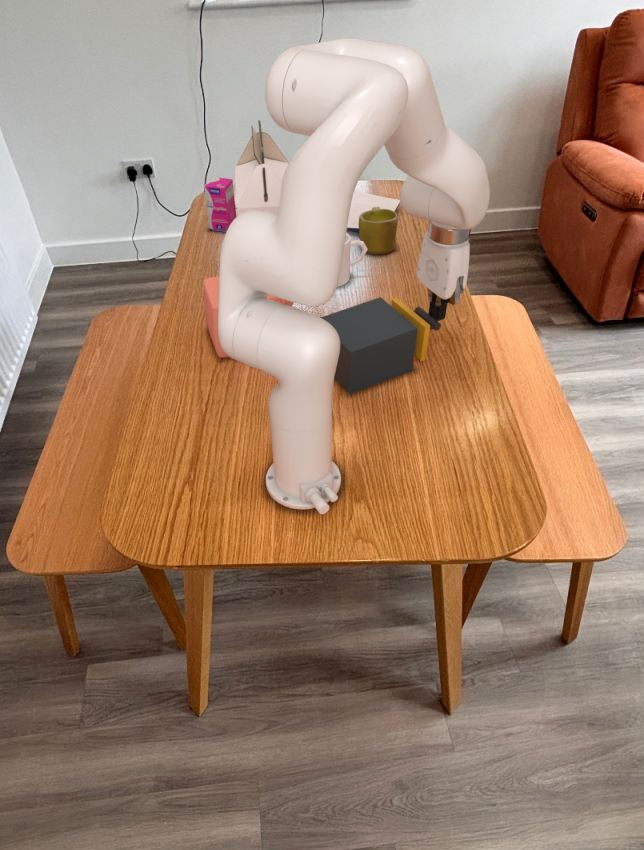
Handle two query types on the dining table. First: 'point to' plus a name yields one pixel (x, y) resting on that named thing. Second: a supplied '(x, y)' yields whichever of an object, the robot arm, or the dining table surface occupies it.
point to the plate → (367, 206)
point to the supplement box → (220, 203)
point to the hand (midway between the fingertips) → (436, 318)
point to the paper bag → (259, 175)
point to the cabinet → (372, 344)
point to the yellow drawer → (418, 325)
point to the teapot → (212, 310)
